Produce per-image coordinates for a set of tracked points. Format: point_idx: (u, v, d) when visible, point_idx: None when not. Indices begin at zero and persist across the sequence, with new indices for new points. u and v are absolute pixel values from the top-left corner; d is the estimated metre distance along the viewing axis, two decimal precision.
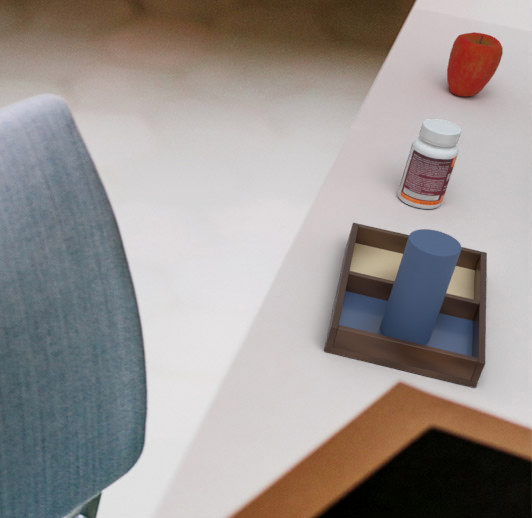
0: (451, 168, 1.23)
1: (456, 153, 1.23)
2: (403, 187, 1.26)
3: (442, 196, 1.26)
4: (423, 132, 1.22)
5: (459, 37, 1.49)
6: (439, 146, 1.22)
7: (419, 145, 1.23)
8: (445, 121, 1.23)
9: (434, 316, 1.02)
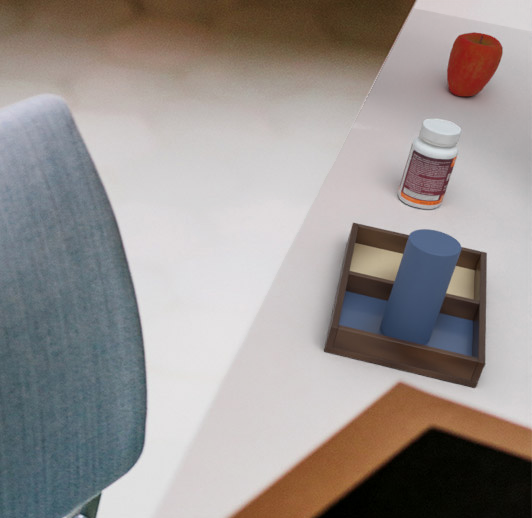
0: (451, 168, 1.23)
1: (456, 153, 1.23)
2: (403, 187, 1.26)
3: (442, 196, 1.26)
4: (423, 132, 1.22)
5: (459, 37, 1.49)
6: (439, 146, 1.22)
7: (419, 145, 1.23)
8: (445, 121, 1.23)
9: (434, 316, 1.02)
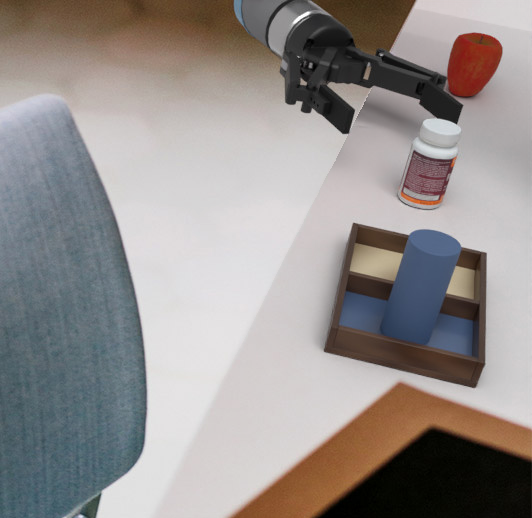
0: (451, 168, 1.23)
1: (456, 153, 1.23)
2: (403, 187, 1.26)
3: (442, 196, 1.26)
4: (423, 132, 1.22)
5: (459, 37, 1.49)
6: (439, 146, 1.22)
7: (419, 145, 1.23)
8: (445, 121, 1.23)
9: (434, 316, 1.02)
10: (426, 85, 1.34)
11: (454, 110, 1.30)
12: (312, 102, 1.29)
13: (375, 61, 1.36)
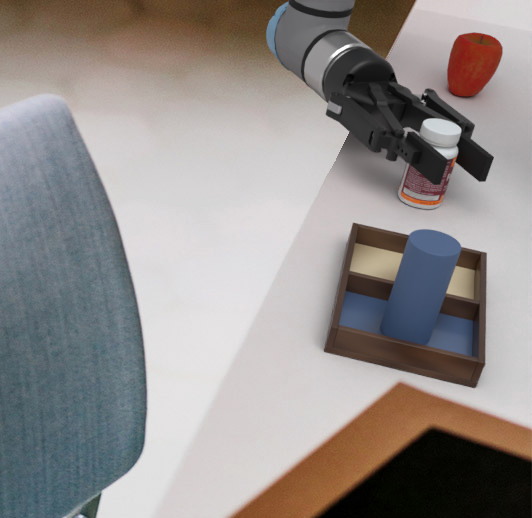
0: (451, 168, 1.23)
1: (456, 153, 1.23)
2: (403, 187, 1.26)
3: (442, 196, 1.26)
4: (423, 132, 1.22)
5: (459, 37, 1.49)
6: (439, 146, 1.22)
7: None
8: (445, 121, 1.23)
9: (434, 316, 1.02)
10: None
11: (484, 162, 1.20)
12: (399, 150, 1.22)
13: (410, 100, 1.29)
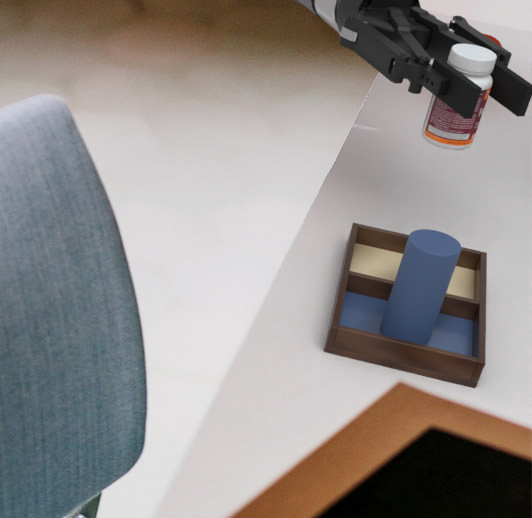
0: (484, 101, 1.06)
1: (490, 83, 1.06)
2: (428, 124, 1.09)
3: (473, 135, 1.08)
4: (452, 58, 1.05)
5: None
6: (471, 75, 1.05)
7: None
8: (478, 47, 1.06)
9: (434, 316, 1.02)
10: None
11: (523, 93, 1.03)
12: (424, 80, 1.05)
13: (436, 26, 1.12)
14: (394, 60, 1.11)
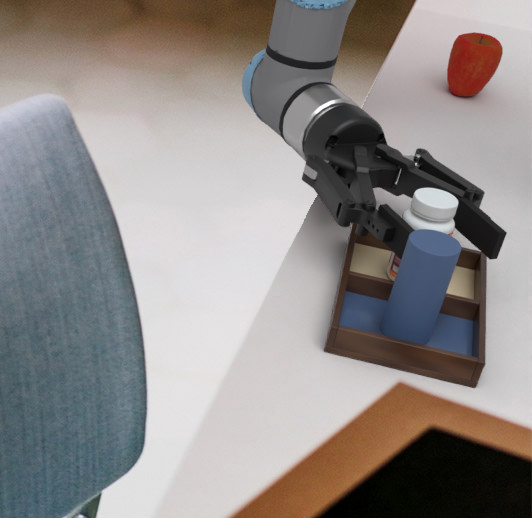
0: None
1: (452, 228, 1.08)
2: (393, 264, 1.11)
3: None
4: (415, 204, 1.07)
5: (459, 37, 1.49)
6: (433, 221, 1.07)
7: (410, 219, 1.08)
8: (440, 191, 1.08)
9: (434, 316, 1.02)
10: (460, 203, 1.10)
11: (495, 238, 1.06)
12: (370, 226, 1.07)
13: (405, 165, 1.14)
14: None
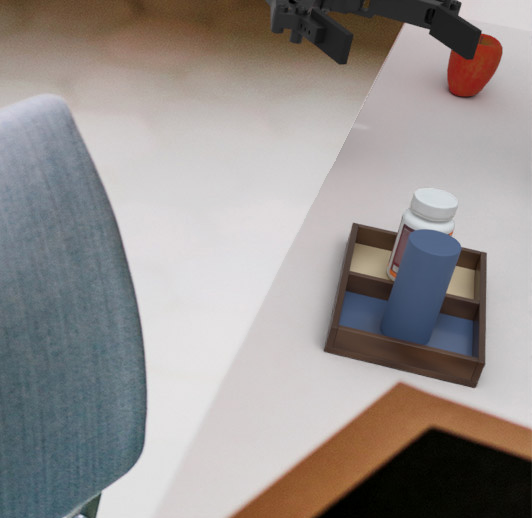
0: None
1: (452, 228, 1.08)
2: (393, 264, 1.11)
3: None
4: (415, 204, 1.07)
5: None
6: (433, 221, 1.07)
7: (410, 218, 1.08)
8: (440, 191, 1.08)
9: (434, 316, 1.02)
10: (437, 11, 1.14)
11: (471, 37, 1.10)
12: (302, 29, 1.09)
13: None
14: None
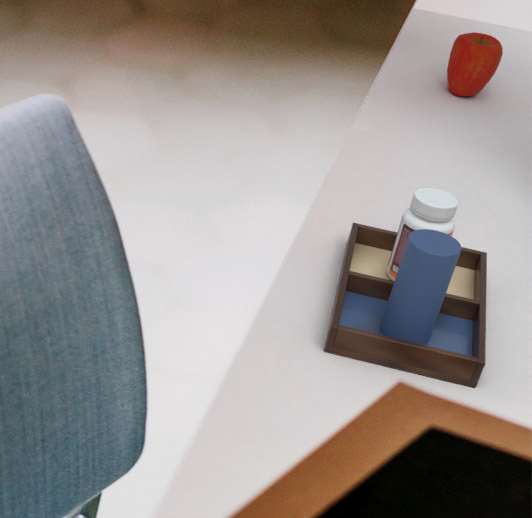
0: None
1: (452, 228, 1.08)
2: (393, 264, 1.11)
3: None
4: (415, 204, 1.07)
5: (459, 37, 1.49)
6: (433, 221, 1.07)
7: (410, 218, 1.08)
8: (440, 191, 1.08)
9: (434, 316, 1.02)
10: None
11: None
12: None
13: None
14: None
